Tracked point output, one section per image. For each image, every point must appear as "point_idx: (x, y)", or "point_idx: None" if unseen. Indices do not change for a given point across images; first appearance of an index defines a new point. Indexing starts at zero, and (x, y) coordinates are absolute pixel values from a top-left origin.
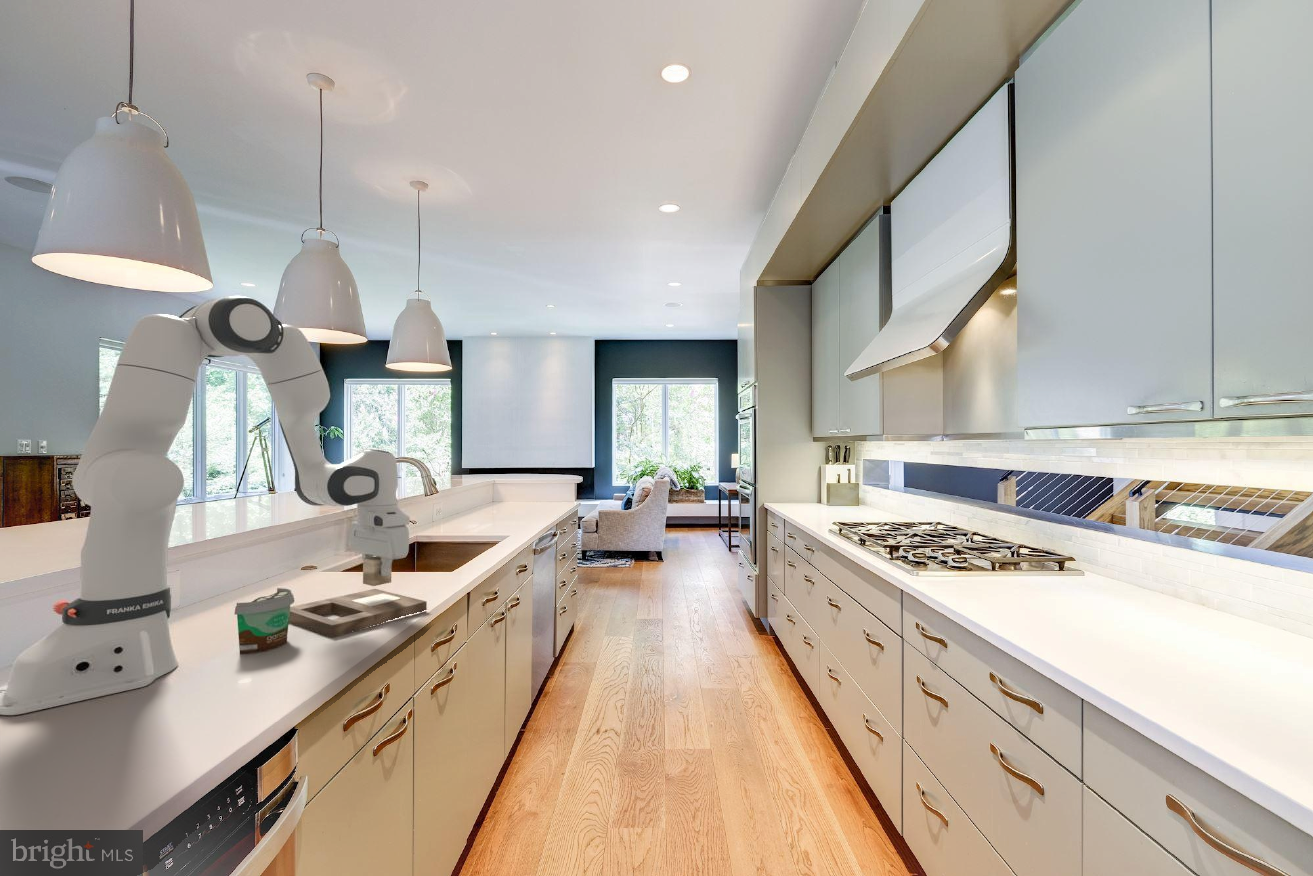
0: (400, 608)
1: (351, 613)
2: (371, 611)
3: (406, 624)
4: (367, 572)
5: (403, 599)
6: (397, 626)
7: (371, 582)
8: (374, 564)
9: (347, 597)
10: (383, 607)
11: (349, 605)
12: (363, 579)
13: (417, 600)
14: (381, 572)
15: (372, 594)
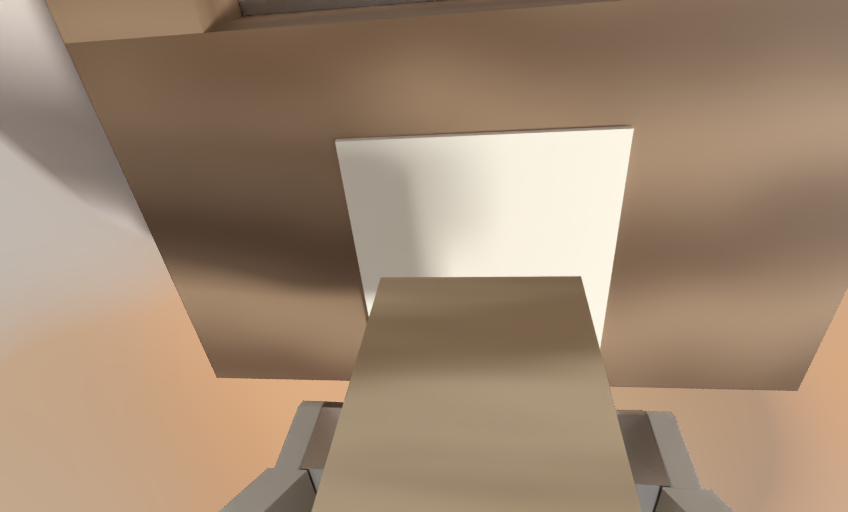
0: (156, 238)
1: (413, 10)
2: (177, 76)
3: (60, 171)
4: (497, 375)
5: (354, 343)
6: (42, 120)
7: (414, 298)
8: (320, 489)
9: (795, 169)
10: (239, 185)
11: (510, 48)
12: (580, 306)
13: (270, 366)
14: (306, 424)
15: (665, 312)
